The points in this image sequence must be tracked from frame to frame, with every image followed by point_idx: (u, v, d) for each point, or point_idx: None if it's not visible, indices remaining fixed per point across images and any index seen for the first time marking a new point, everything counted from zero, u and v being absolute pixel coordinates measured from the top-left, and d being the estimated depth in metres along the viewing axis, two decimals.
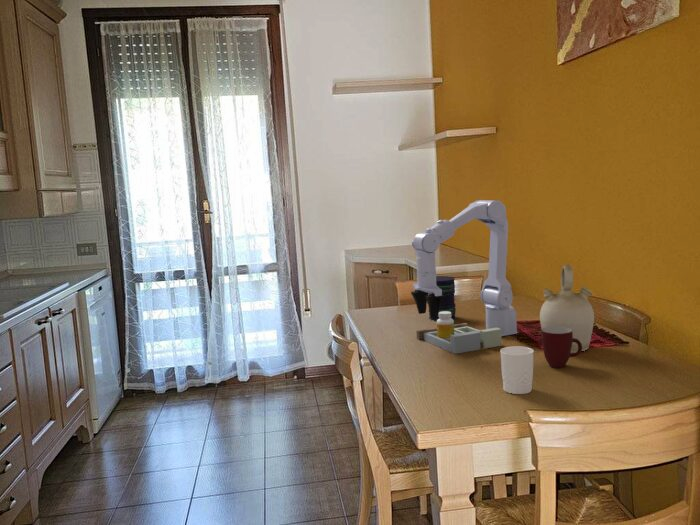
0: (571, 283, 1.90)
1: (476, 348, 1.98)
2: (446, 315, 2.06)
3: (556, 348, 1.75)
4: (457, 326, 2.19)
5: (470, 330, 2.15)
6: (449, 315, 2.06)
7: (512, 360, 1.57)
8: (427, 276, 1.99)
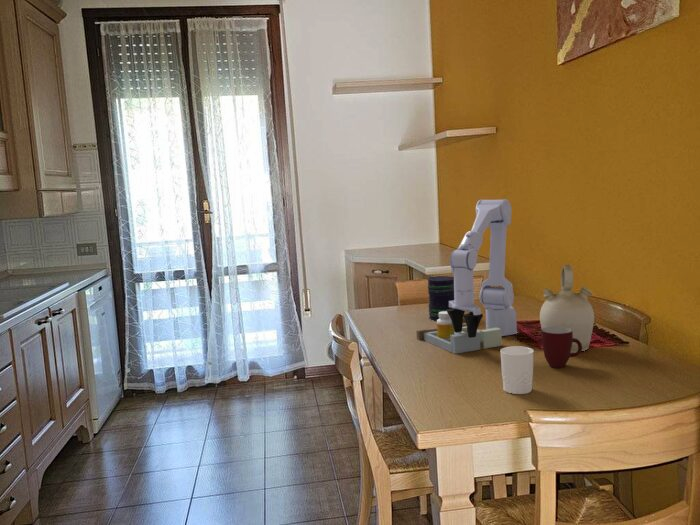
0: (571, 283, 1.90)
1: (476, 348, 1.98)
2: (446, 315, 2.06)
3: (556, 348, 1.75)
4: None
5: None
6: None
7: (512, 360, 1.57)
8: (465, 295, 1.93)
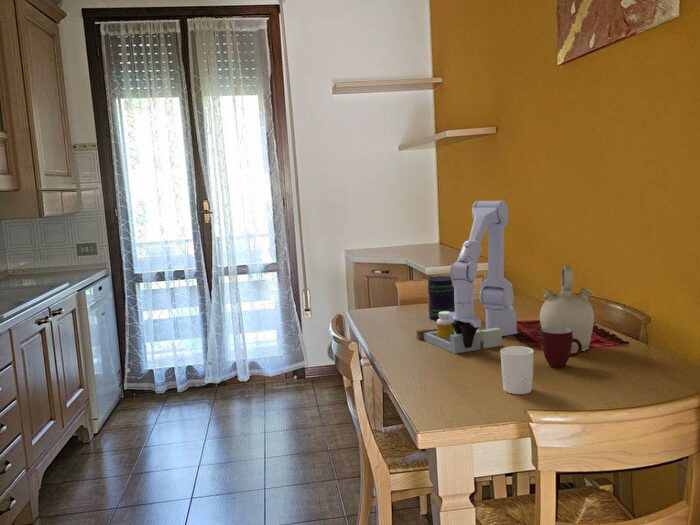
0: (571, 283, 1.90)
1: (476, 348, 1.98)
2: (446, 315, 2.06)
3: (556, 348, 1.75)
4: None
5: None
6: None
7: (512, 360, 1.57)
8: (466, 307, 1.94)
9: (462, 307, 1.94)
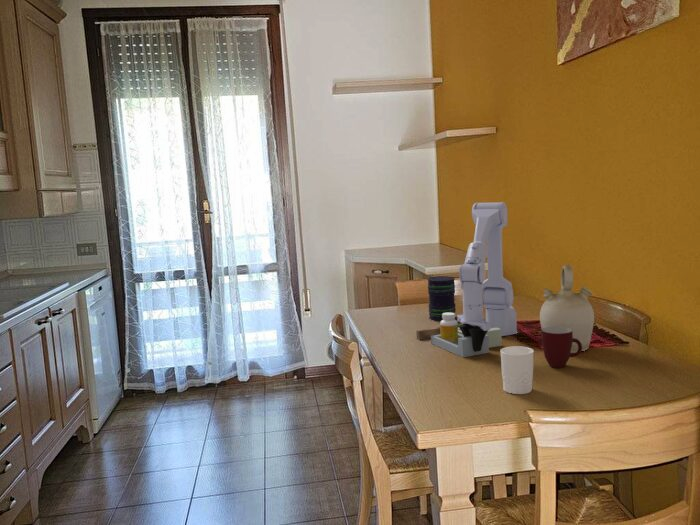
0: (571, 283, 1.90)
1: (484, 351, 1.94)
2: (450, 316, 2.04)
3: (556, 348, 1.75)
4: None
5: None
6: (453, 316, 2.04)
7: (512, 360, 1.57)
8: (474, 309, 1.89)
9: (471, 310, 1.90)
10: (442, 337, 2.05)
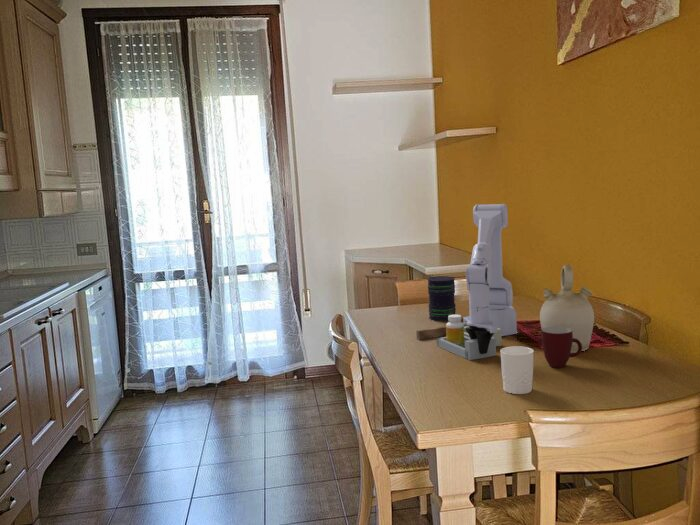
0: (571, 283, 1.90)
1: (491, 354, 1.91)
2: (456, 318, 2.00)
3: (556, 348, 1.75)
4: None
5: None
6: (459, 318, 2.01)
7: (512, 360, 1.57)
8: (481, 311, 1.86)
9: (477, 312, 1.87)
10: (448, 339, 2.02)
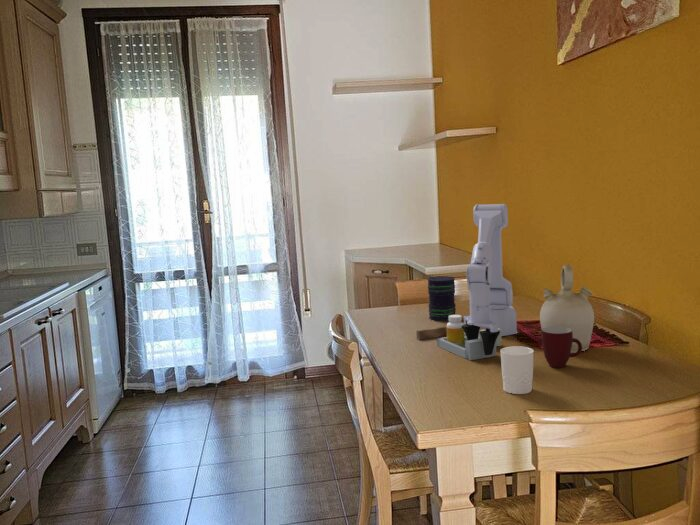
0: (571, 283, 1.90)
1: (492, 354, 1.91)
2: (456, 319, 2.00)
3: (556, 348, 1.75)
4: None
5: None
6: (459, 319, 2.00)
7: (512, 360, 1.57)
8: (481, 311, 1.86)
9: (478, 311, 1.86)
10: (448, 340, 2.02)
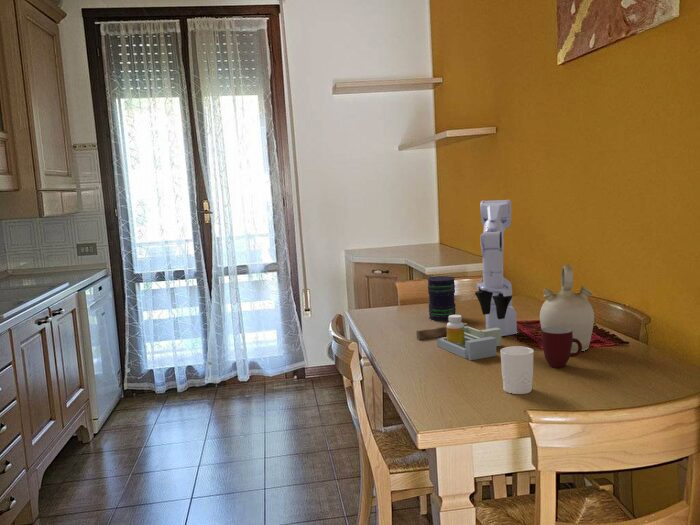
0: (571, 283, 1.90)
1: (492, 354, 1.91)
2: (456, 319, 2.00)
3: (556, 348, 1.75)
4: None
5: (470, 330, 2.15)
6: (459, 319, 2.00)
7: (512, 360, 1.57)
8: (494, 276, 1.93)
9: (491, 277, 1.94)
10: (448, 340, 2.02)
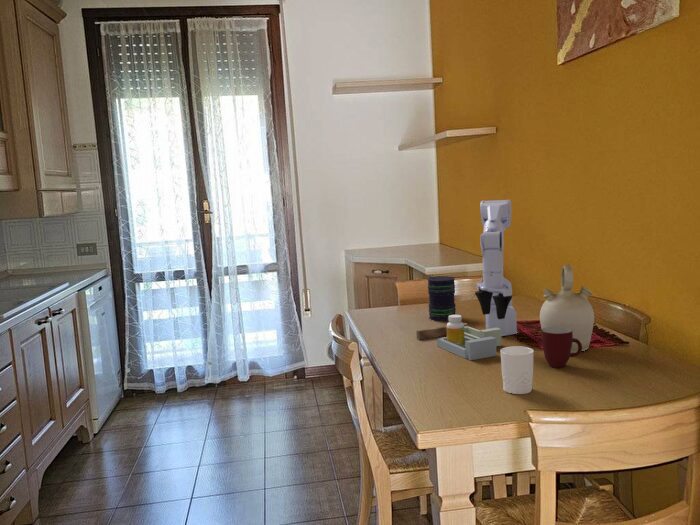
0: (571, 283, 1.90)
1: (492, 354, 1.91)
2: (456, 319, 2.00)
3: (556, 348, 1.75)
4: None
5: (470, 330, 2.15)
6: (459, 319, 2.00)
7: (512, 360, 1.57)
8: (494, 276, 1.93)
9: (491, 277, 1.94)
10: (448, 340, 2.02)
